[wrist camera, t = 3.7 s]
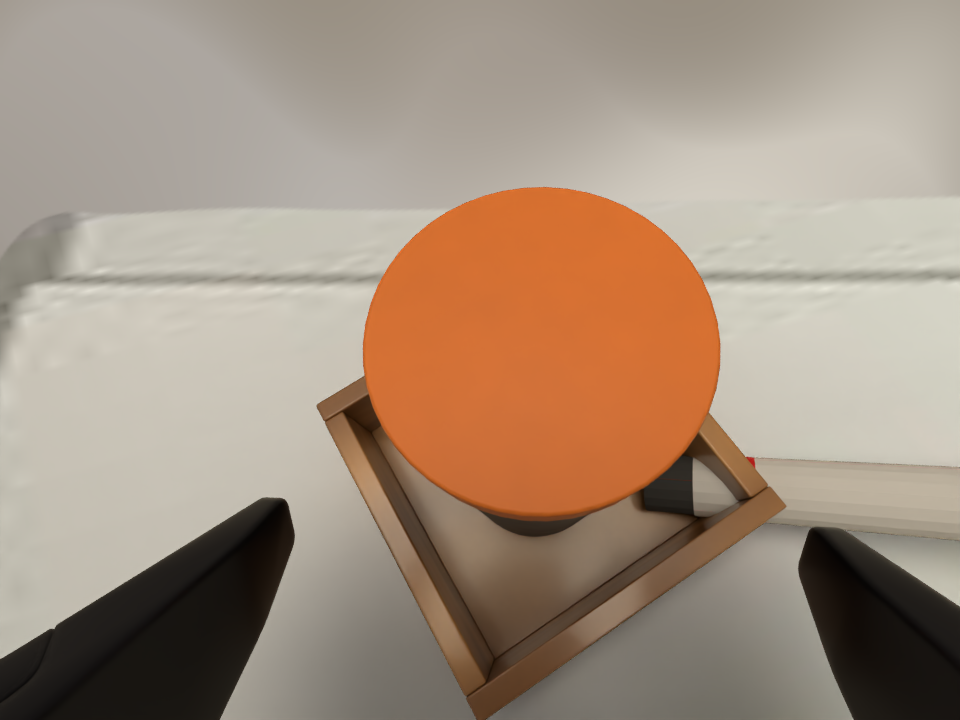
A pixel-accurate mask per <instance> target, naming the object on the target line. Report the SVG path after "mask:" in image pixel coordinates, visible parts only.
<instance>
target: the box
mask: <svg viewBox="0 0 960 720" xmlns="http://www.w3.org/2000/svg"><path fill="white" fill-rule="evenodd" d="M317 409H318V411H319V413H320V415H321V416H322V418H323V420H324V421H325V424H326V426H327V428H328V430H329V432H330V434H331V436H332V438H333V440H334V442H335V444H336V446H337V448H338V450H339V452H340V454H341V456H342V458H343V460H344V461H345V463H346V465H347V467H348V469H349V471H350V473H351V475H352V477H353V479H354V481H355V483H356V485H357V487H358V489H359V491H360V493H361V495H362V497H363V499H364V500H365V502H366V504H367V506H368V508H369V510H370V512H371V514H372V516H373V518H374V520H375V522H376V524H377V526H378V528H379V530H380V532H381V534H382V536H383V537H384V539H385V541H386V543H387V545H388V547H389V549H390V551H391V553H392V555H393V557H394V559H395V561H396V563H397V565H398V567H399V569H400V571H401V573H402V575H403V576H404V578H405V580H406V582H407V584H408V586H409V588H410V590H411V592H412V594H413V596H414V598H415V600H416V602H417V604H418V606H419V608H420V610H421V612H422V614H423V615H424V617H425V619H426V621H427V623H428V625H429V627H430V629H431V631H432V633H433V635H434V637H435V639H436V641H437V643H438V645H439V647H440V649H441V651H442V652H443V654H444V656H445V658H446V660H447V662H448V664H449V666H450V668H451V670H452V672H453V674H454V676H455V678H456V680H457V682H458V684H459V686H460V688H461V690H462V691H463V693H464V695H465V696H467V697H466V700H467V702H468V704H469V706H470V707H471V709H472V711H473V713H474V715H475V717H476V719H477V720H486V719H487V718H489V717H490V716H492V715H493V714H494V713H496V712H497V711H499V710H500V709H501V708H503V707H504V706H506V705H507V704H509V703H510V702H511V701H513V700H514V699H516V698H517V697H518V696H520V695H521V694H523V693H524V692H526V691H527V690H528V689H530V688H531V687H533V686H534V685H535V684H537V683H538V682H540V681H541V680H543V679H544V678H545V677H547V676H548V675H550V674H551V673H552V672H554V671H555V670H557V669H558V668H560V667H561V666H562V665H564V664H565V663H567V662H568V661H569V660H571V659H572V658H574V657H575V656H577V655H578V654H579V653H581V652H582V651H584V650H585V649H586V648H588V647H589V646H591V645H592V644H594V643H595V642H596V641H598V640H599V639H601V638H602V637H603V636H605V635H606V634H608V633H609V632H611V631H612V630H613V629H615V628H616V627H618V626H619V625H620V624H622V623H623V622H625V621H626V620H628V619H629V618H630V617H632V616H633V615H635V614H636V613H637V612H639V611H640V610H642V609H643V608H645V607H646V606H647V605H649V604H650V603H652V602H653V601H654V600H656V599H657V598H659V597H660V596H662V595H663V594H664V593H666V592H667V591H669V590H670V589H671V588H673V587H674V586H676V585H677V584H679V583H680V582H681V581H683V580H684V579H686V578H687V577H688V576H690V575H691V574H693V573H694V572H696V571H697V570H698V569H700V568H701V567H703V566H704V565H705V564H707V563H708V562H710V561H711V560H713V559H714V558H715V557H717V556H718V555H720V554H721V553H722V552H724V551H725V550H727V549H728V548H730V547H731V546H732V545H734V544H735V543H737V542H738V541H739V540H741V539H742V538H744V537H745V536H747V535H748V534H749V533H751V532H752V531H754V530H755V529H756V528H758V527H759V526H761V525H762V524H764V523H765V522H766V521H768V520H769V519H771V518H772V517H773V516H775V515H776V514H778V513H779V512H781V511H782V510H783V509H785V508H786V507H787V506H786V504H785V503H784V502H783V501H782V500H781V498H780V497H779V496H778V495H777V494H776V492H775V491H774V490H773V489H772V488H771V487H770V486H769V487H767V486H768V484H767V482H766V481H765V480H764V479H763V477H762V476H761V475H760V474H759V473H758V471H757V470H756V469H755V468H754V467H753V465H752V464H751V463H750V462H749V461H748V459H747V458H746V457H745V456H744V455H743V453H742V452H741V451H740V450H739V449H738V447H737V446H736V445H735V444H734V442H733V441H732V440H731V439H730V438H729V436H728V435H727V434H726V433H725V432H724V430H723V429H722V428H721V427H720V426H719V424H718V423H717V422H716V421H715V420H714V418H713V417H712V416H711V415H710V414H709V412H708V414H707V416H706V418H705V420H704V422H703V424H702V426H701V428H700V430H699V432H698V434H697V435H696V437H695V438H694V439H693V441H692V442H691V444H690V445H689V447H688V448H687V449H686V451H685V452H684V453H683V454H682V456H689V457H692V458H693V457H694V458H695V459H697V460H698V461H700V462H701V463H703V464H704V465H705V466H706V467H707V468H709V469H710V470H711V471H712V472H713V473H714V474H715V475H716V476H717V477H718V478H719V479H720V480H721V481H722V482H723V483H724V484H725V486H726V487H727V488H728V489H729V491H730V492H731V493H732V494H733V496H734V497H735V499H736V500H738V501H739V500H740V501H739V502H737V503H735V504H734V505H732V506H730V507H728V508H726V509H725V510H723V511H721V512H719V513H717V514H715V515H713V516H710V517H698V516H695V515H691V514H680V513H669V512H658V511H647V510H646V507H645V501H644V488H643V489H641V490H639V491H638V492H636V493H634V494H632V495H631V496H629V497H627V498H625V499H624V500H622V501H620V502H618V503H617V504H615V505H613V506H610V507H608V508H605V509H603V510H600V511H598V512H595V513H592V514H589V515H587V516H586V517H584V518H583V519H581V520H580V521H578V522H577V523H575V524H574V525H572V526H571V527H569V528H567V529H565V530H564V531H561V532H559V533H556V534H552V535H548V536H541V537H529V536H523V535H518V534H515V533H512V532H510V531H508V530H505V529H503V528H502V527H500V526H499V525H497V524H495V523H494V522H493V521H492V520H490V519H489V518H488V517H487V516H485V515H484V514H483V513H482V512H480V511H479V510H478V509H476V508H474V507H472V506H469V505H467V504H465V503H463V502H461V501H459V500H457V499H456V498H454V497H453V496H451V495H449V494H448V493H446V492H445V491H443V490H442V489H440V488H439V487H437V486H436V485H434V484H433V483H432V482H430V481H429V480H428V479H426V478H425V477H424V476H423V475H422V474H421V473H419V472H418V471H417V470H416V469H415V468H414V467H412V466H411V465H410V464H409V463H408V461H407V460H406V459H405V458H404V457H403V456H402V455H401V453H400V452H399V451H398V450H397V449H396V448H395V446H394V445H393V443H392V442H391V440H390V439H389V437H388V436H387V434H386V433H385V431H384V430H383V428H382V426H381V424H380V422H379V419H378V417H377V415H376V413H375V411H374V409H373V406H372V403H371V400H370V396H369V393H368V390H367V386H366V380H365V376H364V377H362V378H360V379H359V380H357V381H355V382H354V383H352V384H350V385H349V386H347V387H345V388H344V389H342V390H340V391H339V392H337V393H335V394H334V395H332V396H330V397H329V398H327V399H325V400H324V401H322V402H320V403H319V404H317Z"/></svg>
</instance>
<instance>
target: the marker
mask: <svg viewBox="0 0 960 720" xmlns="http://www.w3.org/2000/svg"><path fill="white" fill-rule="evenodd" d="M746 458H747V459H748V461H749V462H750V463H751V464H752V465H753V467H754V468H755V469H756V470H757V471H758V473H759V474H760V475H761V476H762V477H763V479H764V480H765V481H766V482H767V484H768V486H767V487H769V486H770V487H771V488H772V489H773V490H774V491H775V492H776V494H777V495H778V496H779V497H780V498H781V500H782V501H783V502H784V503H785V504H786V506H787V507H786V508H785V509H783V510H782V511H781V512H779V513H778V514H776V515H775V516H773V517H772V518H771V519H769V520H768V521H766V522H765V523H774V524H785V525H796V526H806V527H817V526H819V527H836V528H840V529H843V530H850V531H861V532H871V533H882V534H893V535H904V536H915V537H925V538H936V539H947V540H958V541H960V467H946V466H924V465H903V464H881V463H860V462H838V461H816V460H795V459H773V458H752V457H746ZM644 501H645V507H646V510H647V511H658V512H669V513H680V514H691V515H695V516H698V517H710V516H713V515H715V514H717V513H719V512H721V511H723V510H725V509H726V508H728V507H730V506H732V505H734V504H735V503H737V502H739V501H740V500H739V501H738V500H736V499H735V497H734V496H733V494H732V493H731V492H730V491H729V489H728V488H727V487H726V486H725V484H724V483H723V482H722V481H721V480H720V479H719V478H718V477H717V476H716V475H715V474H714V473H713V472H712V471H711V470H710V469H709V468H707V467H706V466H705V465H704V464H703V463H701V462H700V461H698V460H697V459H695V458H694V457H693V458H692V457H689V456H682V455H681V456H680V457H679V459H678V460H677V461H676V462H675V463H674V464H673V465H672V466H671V467H670V468H669V469H668V470H667V471H666V472H664V473H663V474H662V475H661V476H659V477H658V478H657V479H656V480H654V481H653V482H652V483H650V484H649V485H648V486H646V487H645V488H644Z"/></svg>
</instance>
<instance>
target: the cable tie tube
mask: <svg viewBox="0 0 960 720" xmlns="http://www.w3.org/2000/svg"><path fill="white" fill-rule="evenodd" d="M363 367H364V373H365V380H366V386H367V390H368V393H369V396H370V400H371V403H372V406H373V409H374V411H375V413H376V415H377V417H378V419H379V422H380V424H381V426H382V428H383V430H384V431H385V433H386V434H387V436H388V437H389V439H390V440H391V442H392V443H393V445H394V446H395V448H396V449H397V450H398V451H399V452H400V453H401V455H402V456H403V457H404V458H405V459H406V460H407V461H408V463H409V464H410V465H411V466H412V467H414V468H415V469H416V470H417V471H418V472H419V473H421V474H422V475H423V476H424V477H425V478H426V479H428V480H429V481H430V482H432V483H433V484H434V485H436V486H437V487H439V488H440V489H442V490H443V491H445V492H446V493H448V494H449V495H451V496H453V497H454V498H456V499H457V500H459V501H461V502H463V503H465V504H467V505H469V506H472V507H474V508H476V509H478V510H479V511H480V512H482V513H483V514H484V515H485V516H487V517H488V518H489V519H490V520H492V521H493V522H494V523H495V524H497V525H499V526H500V527H502V528H503V529H505V530H508V531H510V532H512V533H515V534H518V535H523V536H529V537H541V536H548V535H552V534H556V533H559V532H561V531H564V530H565V529H567V528H569V527H571V526H572V525H574V524H575V523H577V522H578V521H580V520H581V519H583V518H584V517H586V516H587V515H589V514H592V513H595V512H598V511H600V510H603V509H605V508H608V507H610V506H613V505H615V504H617V503H618V502H620V501H622V500H624V499H625V498H627V497H629V496H631V495H632V494H634V493H636V492H638V491H639V490H641V489H643V488H645V487H646V486H648V485H649V484H650V483H652V482H653V481H654V480H656V479H657V478H658V477H659V476H661V475H662V474H663V473H664V472H666V471H667V470H668V469H669V468H670V467H671V466H672V465H673V464H674V463H675V462H676V461H677V460H678V459H679V457H680V456H681V455H682V454H683V453H684V452H685V451H686V449H687V448H688V447H689V445H690V444H691V442H692V441H693V439H694V438H695V437H696V435H697V434H698V432H699V430H700V428H701V426H702V424H703V422H704V420H705V418H706V416H707V414H708V412H709V410H710V407H711V404H712V401H713V398H714V394H715V391H716V388H717V382H718V376H719V369H720V338H719V330H718V323H717V319H716V315H715V312H714V308H713V305H712V301H711V298H710V296H709V294H708V291H707V289H706V287H705V285H704V282H703V280H702V278H701V277H700V275H699V274H698V272H697V270H696V269H695V267H694V265H693V264H692V262H691V261H690V260H689V258H688V257H687V256H686V255H685V253H684V252H683V251H682V250H681V249H680V247H679V246H678V245H677V244H676V243H675V242H674V241H673V240H672V239H671V238H670V237H669V236H668V235H667V234H666V233H665V232H663V231H662V230H661V229H660V228H658V227H657V226H656V225H654V224H653V223H652V222H650V221H649V220H648V219H646V218H645V217H643V216H642V215H640V214H638V213H636V212H635V211H633V210H631V209H629V208H628V207H626V206H623V205H621V204H619V203H616V202H614V201H611V200H609V199H607V198H603V197H600V196H597V195H593V194H590V193H586V192H581V191H576V190H570V189H563V188H549V187H537V188H520V189H513V190H507V191H501V192H497V193H494V194H489V195H486V196H483V197H480V198H477V199H475V200H472V201H469V202H466V203H464V204H462V205H460V206H458V207H456V208H454V209H452V210H450V211H448V212H446V213H445V214H443V215H442V216H440V217H439V218H437V219H436V220H434V221H433V222H431V223H430V224H428V225H427V226H426V227H425V228H424V229H422V230H421V231H420V232H419V233H418V234H416V235H415V236H414V237H413V238H412V239H411V240H410V241H409V242H408V243H407V244H406V245H405V246H404V248H403V249H402V250H401V251H400V252H399V253H398V255H397V256H396V257H395V259H394V260H393V261H392V263H391V264H390V265H389V267H388V269H387V270H386V272H385V274H384V276H383V277H382V279H381V281H380V283H379V285H378V287H377V289H376V292H375V294H374V297H373V299H372V302H371V305H370V309H369V312H368V316H367V320H366V324H365V332H364V340H363Z"/></svg>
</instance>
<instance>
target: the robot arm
mask: <svg viewBox="0 0 960 720" xmlns="http://www.w3.org/2000/svg"><path fill="white" fill-rule="evenodd" d="M294 539H295V533H294V528H293V524H292V519H291V515H290V511H289V506H288V503H287V502H286V500H285V499H282V498H268V497H266V498H261V499H259V500H258V501H256V502H254V503H253V504H251V505H249V506H248V507H246V508H245V509H243V510H241V511H240V512H238V513H237V514H235V515H233V516H232V517H230V518H228V519H227V520H225V521H224V522H222V523H220V524H219V525H217V526H216V527H214V528H212V529H211V530H209V531H208V532H206V533H204V534H203V535H201V536H199V537H198V538H196V539H195V540H193V541H191V542H190V543H188V544H187V545H185V546H183V547H182V548H180V549H178V550H177V551H175V552H174V553H172V554H170V555H169V556H167V557H166V558H164V559H162V560H161V561H159V562H158V563H156V564H154V565H153V566H151V567H149V568H148V569H146V570H145V571H143V572H141V573H140V574H138V575H137V576H135V577H133V578H132V579H130V580H128V581H127V582H125V583H124V584H122V585H120V586H119V587H117V588H116V589H114V590H112V591H111V592H109V593H107V594H106V595H104V596H103V597H101V598H99V599H98V600H96V601H95V602H93V603H91V604H90V605H88V606H86V607H85V608H83V609H82V610H80V611H78V612H77V613H75V614H74V615H72V616H70V617H69V618H67V619H65V620H64V621H62V622H61V623H59V624H58V625H56V627H55V629H49V630H47V631H46V632H44V633H43V634H41V635H40V636H38V637H36V638H35V639H33V640H31V641H30V642H28V643H27V644H25V645H23V646H22V647H20V648H18V649H17V650H15V651H13V652H12V653H10V654H8V655H7V656H5V657H3V658H2V659H0V720H220V718H221V716H222V714H223V712H224V709H225V707H226V705H227V703H228V701H229V699H230V697H231V695H232V693H233V691H234V689H235V686H236V684H237V682H238V680H239V678H240V676H241V674H242V672H243V670H244V668H245V666H246V664H247V661H248V659H249V657H250V655H251V653H252V651H253V649H254V647H255V645H256V643H257V641H258V638H259V636H260V634H261V632H262V630H263V627H264V625H265V622H266V620H267V617H268V615H269V612H270V609H271V606H272V604H273V601H274V598H275V595H276V593H277V590H278V587H279V584H280V581H281V579H282V576H283V573H284V570H285V568H286V565H287V562H288V559H289V556H290V554H291V551H292V548H293V545H294ZM798 571H799V577H800V580H801V583H802V586H803V589H804V592H805V595H806V598H807V601H808V604H809V607H810V610H811V613H812V615H813V618H814V621H815V624H816V627H817V630H818V633H819V636H820V639H821V642H822V645H823V648H824V650H825V653H826V656H827V659H828V662H829V664H830V667H831V670H832V672H833V675H834V677H835V679H836V682H837V684H838V686H839V688H840V691H841V693H842V695H843V697H844V699H845V702H846V704H847V706H848V708H849V710H850V712H851V715H852V717H853V719H854V720H960V606H958V605H956V604H955V603H953V602H952V601H950V600H949V599H947V598H946V597H944V596H943V595H941V594H940V593H938V592H937V591H935V590H934V589H932V588H931V587H929V586H928V585H926V584H925V583H923V582H922V581H920V580H919V579H917V578H916V577H914V576H913V575H911V574H910V573H908V572H907V571H905V570H904V569H902V568H901V567H899V566H898V565H896V564H895V563H893V562H891V561H890V560H888V559H887V558H885V557H884V556H882V555H881V554H879V553H878V552H876V551H875V550H873V549H872V548H870V547H869V546H867V545H866V544H864V543H863V542H861V541H860V540H858V539H857V538H855V537H854V536H852V535H851V534H849V533H848V532H846V531H844V530H843V529H840V528H836V527H819V526H817V527H813V528H811V529H810V530H809V532H808V535H807V538H806V541H805V544H804V548H803V551H802V554H801V557H800V560H799V566H798Z"/></svg>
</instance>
